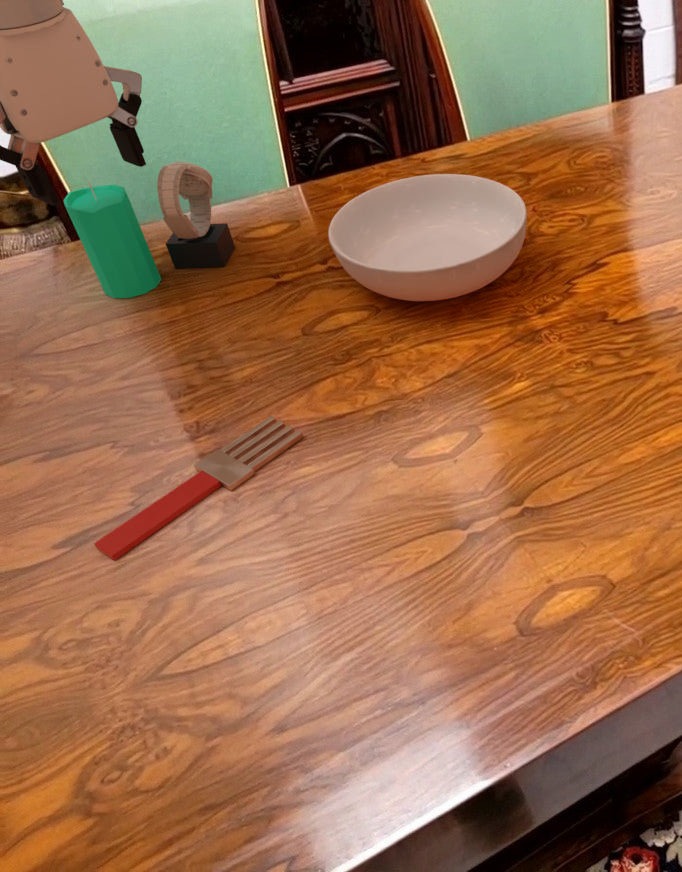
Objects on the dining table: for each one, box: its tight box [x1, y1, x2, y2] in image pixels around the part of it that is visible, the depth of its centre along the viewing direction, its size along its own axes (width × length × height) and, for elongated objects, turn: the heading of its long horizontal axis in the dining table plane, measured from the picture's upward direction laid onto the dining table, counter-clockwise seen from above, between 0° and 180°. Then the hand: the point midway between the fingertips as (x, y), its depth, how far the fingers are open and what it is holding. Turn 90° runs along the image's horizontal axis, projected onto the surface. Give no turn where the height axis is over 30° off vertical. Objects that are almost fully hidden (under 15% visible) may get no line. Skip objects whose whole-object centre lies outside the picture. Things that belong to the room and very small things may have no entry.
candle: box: [62, 181, 163, 299], centre depth 99 cm, size 6×6×12 cm
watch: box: [156, 161, 236, 269], centre depth 103 cm, size 6×8×11 cm
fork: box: [93, 415, 304, 561], centre depth 78 cm, size 18×5×1 cm, turn 146°
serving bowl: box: [327, 173, 528, 302], centre depth 102 cm, size 21×21×7 cm
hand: (93, 181), depth 95 cm, fingers open, 9 cm apart
